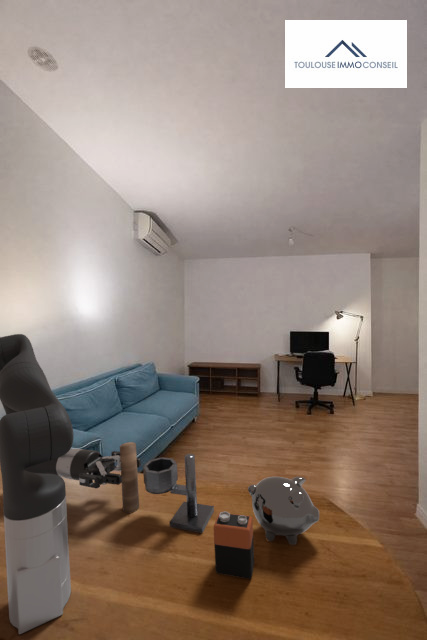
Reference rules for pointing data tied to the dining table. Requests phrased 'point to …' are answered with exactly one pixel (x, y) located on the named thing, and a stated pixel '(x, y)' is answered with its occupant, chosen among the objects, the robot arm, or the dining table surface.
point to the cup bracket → (178, 491)
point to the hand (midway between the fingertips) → (130, 471)
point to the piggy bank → (283, 507)
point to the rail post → (129, 477)
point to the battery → (234, 545)
